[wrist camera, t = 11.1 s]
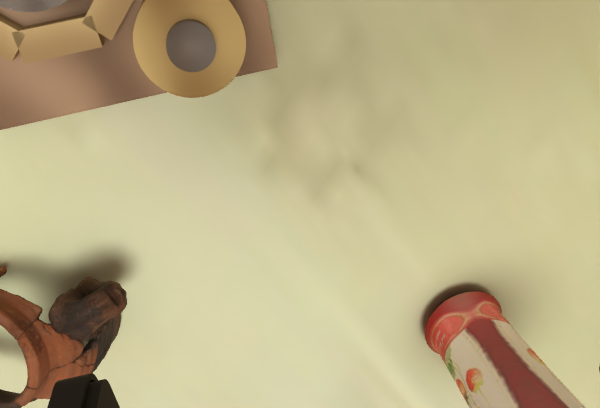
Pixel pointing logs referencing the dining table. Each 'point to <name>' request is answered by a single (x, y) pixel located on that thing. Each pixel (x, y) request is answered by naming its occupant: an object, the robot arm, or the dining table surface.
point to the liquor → (492, 357)
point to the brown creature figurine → (61, 335)
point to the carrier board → (125, 53)
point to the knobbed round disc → (30, 5)
